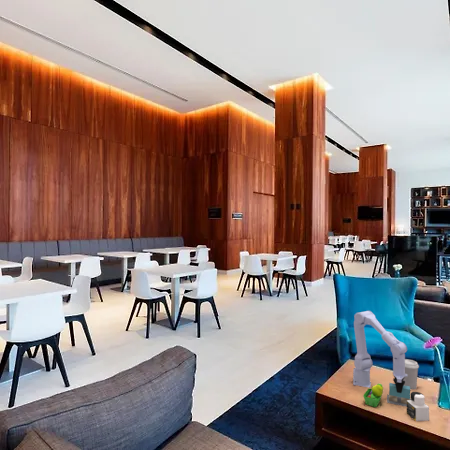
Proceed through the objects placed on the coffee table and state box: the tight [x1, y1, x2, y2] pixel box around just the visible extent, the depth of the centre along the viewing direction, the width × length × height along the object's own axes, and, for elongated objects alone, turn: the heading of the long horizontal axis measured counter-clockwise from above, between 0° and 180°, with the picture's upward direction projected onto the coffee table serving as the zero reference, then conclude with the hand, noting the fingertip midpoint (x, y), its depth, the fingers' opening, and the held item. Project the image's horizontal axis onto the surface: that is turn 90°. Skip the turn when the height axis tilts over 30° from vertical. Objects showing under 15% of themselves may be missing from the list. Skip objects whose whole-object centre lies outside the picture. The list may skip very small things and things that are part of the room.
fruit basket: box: [362, 383, 384, 408], centre depth 180 cm, size 11×9×11 cm
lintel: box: [388, 382, 411, 399], centre depth 182 cm, size 10×4×5 cm, turn 63°
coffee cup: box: [403, 358, 420, 390], centre depth 198 cm, size 10×10×15 cm
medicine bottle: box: [406, 391, 430, 422], centre depth 167 cm, size 7×7×12 cm
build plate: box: [386, 393, 411, 408], centre depth 182 cm, size 12×10×1 cm
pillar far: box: [401, 397, 411, 404], centre depth 180 cm, size 4×4×3 cm
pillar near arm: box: [388, 394, 397, 402], centre depth 183 cm, size 4×4×3 cm
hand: (399, 390), depth 182 cm, fingers open, 5 cm apart
